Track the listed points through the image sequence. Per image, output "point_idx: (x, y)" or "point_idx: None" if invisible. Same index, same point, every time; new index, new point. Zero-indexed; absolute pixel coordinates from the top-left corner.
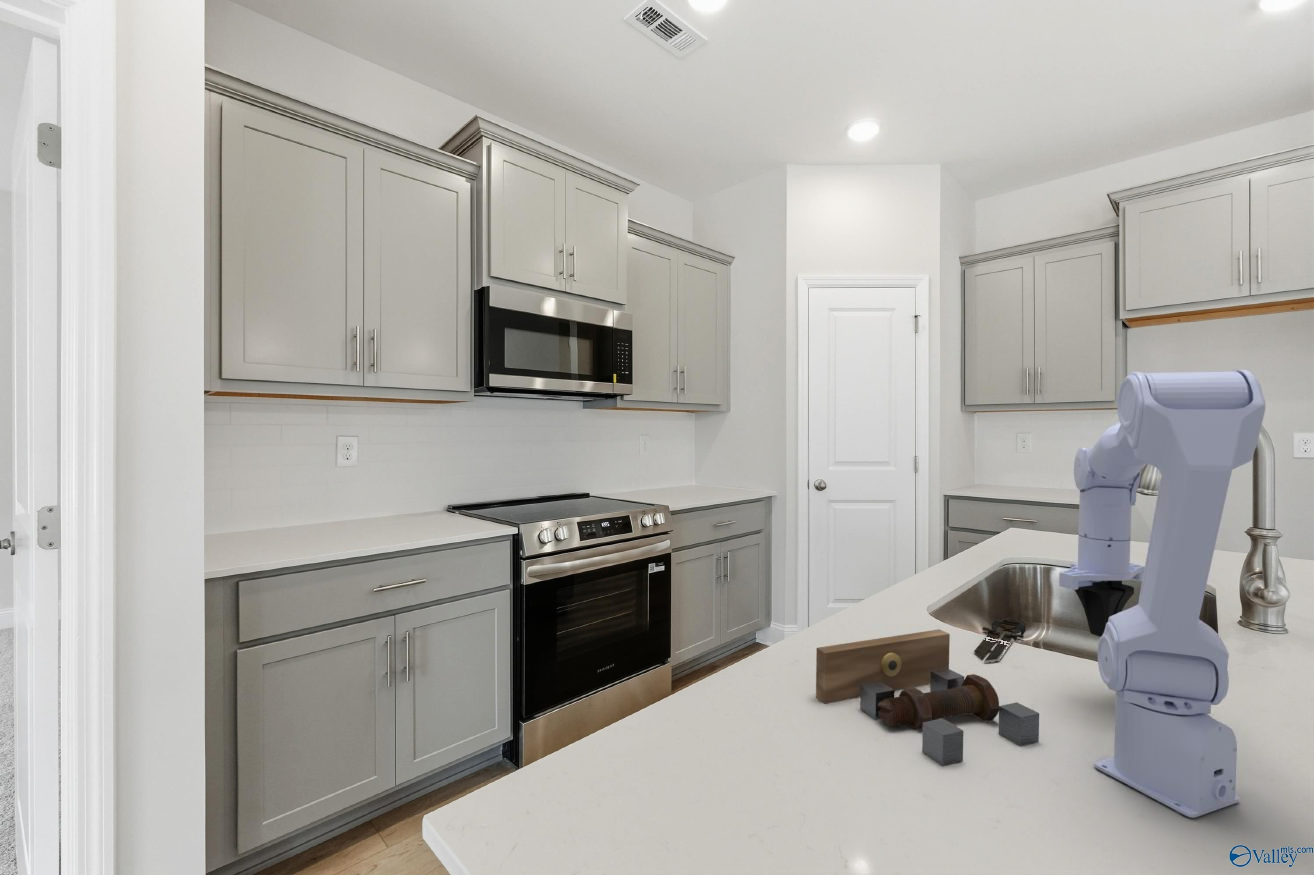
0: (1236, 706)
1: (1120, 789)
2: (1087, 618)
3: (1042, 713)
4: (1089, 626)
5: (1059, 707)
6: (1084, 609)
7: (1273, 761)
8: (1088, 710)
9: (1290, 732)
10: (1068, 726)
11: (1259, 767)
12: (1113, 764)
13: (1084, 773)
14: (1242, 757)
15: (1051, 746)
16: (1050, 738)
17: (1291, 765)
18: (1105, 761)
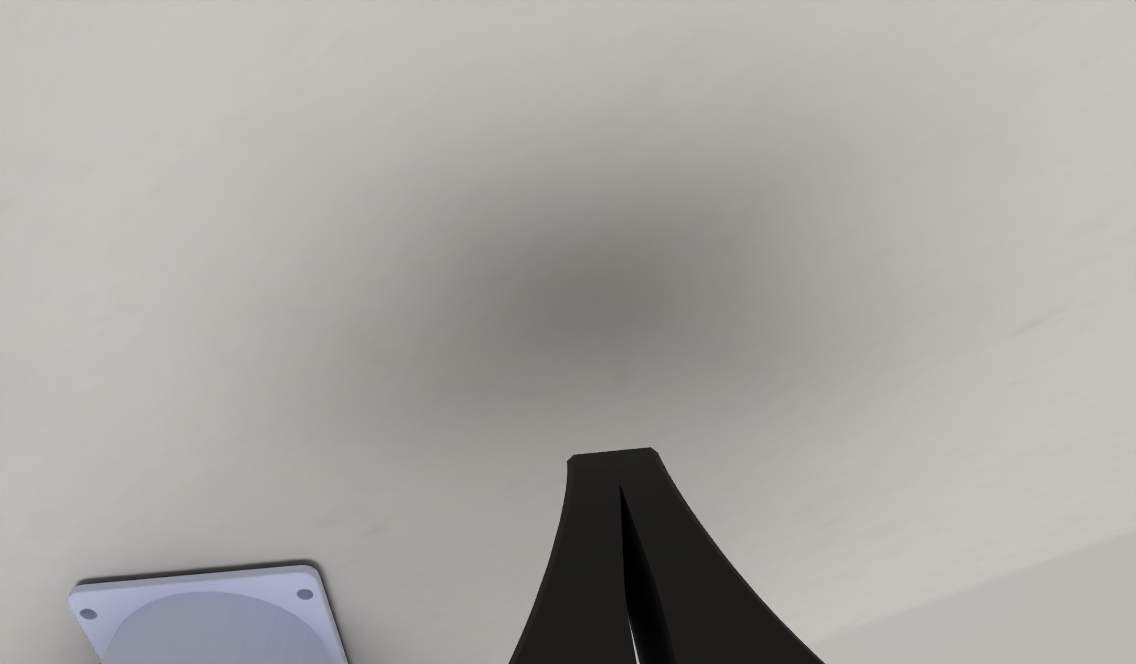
0: (1110, 407)
1: (79, 653)
2: (553, 549)
3: (169, 260)
4: (567, 495)
5: (314, 233)
6: (532, 616)
7: None
8: (438, 291)
9: (996, 557)
10: (207, 375)
11: None
12: (130, 612)
13: (19, 591)
14: None
15: (8, 467)
16: (46, 427)
17: None
18: (116, 598)
